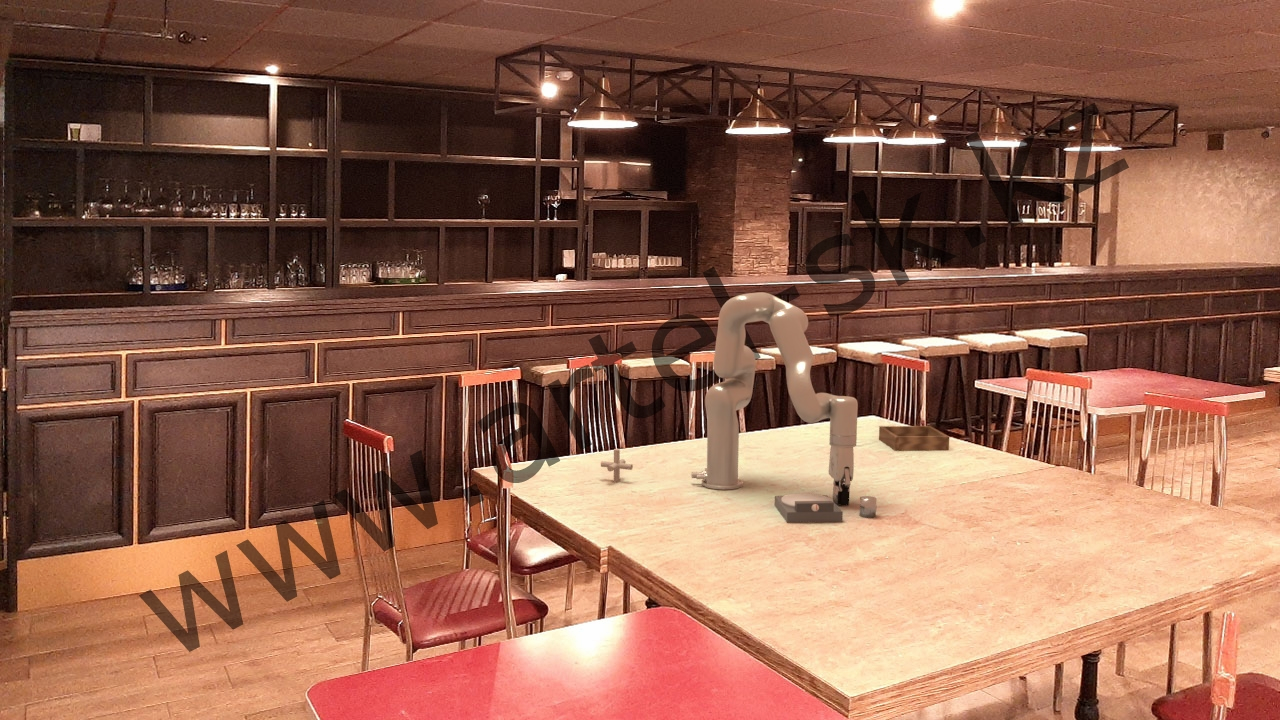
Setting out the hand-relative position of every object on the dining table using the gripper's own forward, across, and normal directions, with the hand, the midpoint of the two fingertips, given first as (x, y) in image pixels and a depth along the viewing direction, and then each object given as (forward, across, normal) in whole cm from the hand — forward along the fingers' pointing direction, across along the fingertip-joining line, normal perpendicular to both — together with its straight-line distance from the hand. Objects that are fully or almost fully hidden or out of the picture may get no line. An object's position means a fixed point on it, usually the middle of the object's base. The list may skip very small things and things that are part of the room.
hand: (840, 501), depth 294 cm
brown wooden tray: (0, -77, +47) cm, 90 cm away
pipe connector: (+1, -28, -63) cm, 69 cm away
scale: (0, +10, -12) cm, 16 cm away
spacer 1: (0, 0, 0) cm, 0 cm away
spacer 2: (0, +13, +4) cm, 14 cm away
